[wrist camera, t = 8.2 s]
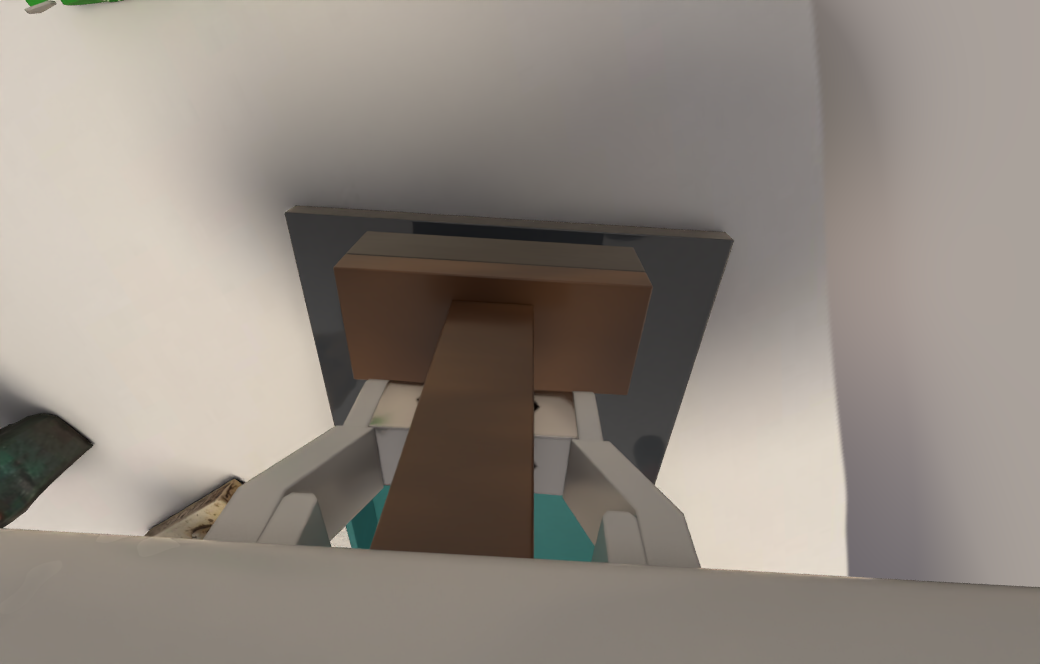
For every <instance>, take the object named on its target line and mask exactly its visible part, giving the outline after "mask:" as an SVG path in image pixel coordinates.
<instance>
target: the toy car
mask: <svg viewBox="0 0 1040 664" xmlns="http://www.w3.org/2000/svg"><path fill="white" fill-rule="evenodd" d="M117 1H123V0H61V2H62V3H63V4H64V5H83V4H93V3H100V2H117ZM26 2H27V3H28V4H29V5H30V7H29V8H26V9H25V11H26V12H27V13H29V14H35V13H42V12H44V11H45V10H47V9H49V8H51V7H52V6H54V5H56V2H55V1H51V0H26Z"/></svg>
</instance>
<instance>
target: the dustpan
mask: <svg viewBox="0 0 1040 664" xmlns="http://www.w3.org/2000/svg"><path fill="white" fill-rule="evenodd" d="M383 486H384V488H383V489H382V490H381V491H380V492H379V493H378V494H377V495H376V496H375V497H374V498H373V499H372V500H371V501H370V502H369V503H368V504H367V505H366V506H365V507H364V508H363V509H362V510H361V511H360V512H359V513H358V514H357V515H356V516H355V517H354V518H353V519H352V520H351V521H350V522H349V523H348V524H347V525H346V528H347V532H348V536H349V540H350V544H351V548H357V549H370V546H371V543H372V540H373V537H374V534H375V531H376V528H377V525H378V522H379V519H380V516H381V513H382V510H383V507H384V504H385V501H386V498H387V495H388V492H389V489H390V486H387V485H383ZM562 497H563V496H560V495H548V494H536V493H534V559H550V560H567V561H585V562H591V560H592V556H593V552H594V548H595V546H594V545H593V543H592V542H591V540H590V539H589V537H588V535H587V534H586V532H585V531H584V529H583V528H582V526H581V525H580V523H579V522H578V520H577V519H576V517H575V516H574V514H573V513H572V511H571V510H570V508H569V507H568V505H567V504H566V502H565V501H564V499H563V498H562Z"/></svg>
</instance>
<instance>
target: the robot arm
mask: <svg viewBox="0 0 1040 664" xmlns="http://www.w3.org/2000/svg"><path fill="white" fill-rule="evenodd" d="M423 386H424V383H421V382H408V381H396V380H390V381H389V380H380V379H369V380H367V381H366V382H365V383H364V385H363V387H362V389H361V391H360V393H359V395H358V397H357V399H356V401H355V403H354V405H353V407H352V409H351V410H350V412H349V414H348V416H347V418H346V420H345V422H344V424H343V426H338V425H336V426H335V427H333V428H331V429H330V430H328V431H327V432H325V433H324V434H322V435H320V436H319V437H317V438H316V439H314V440H312V441H311V442H309V443H308V444H306V445H305V446H303V447H301V448H300V449H298V450H297V451H295V452H293V453H292V454H290V455H289V456H287V457H286V458H284V459H282V460H281V461H279V462H278V463H276V464H274V465H273V466H271V467H270V468H268V469H267V470H265V471H263V472H262V473H260V474H259V475H257V476H255V477H254V478H252V479H251V480H249V481H248V482H246V483H244V484H243V485H241V486H240V487H238V489H237V490H236V492H235V493H234V495H233V496H232V497H231V499H230V500H229V502H228V503H227V505H226V506H225V508H224V509H223V511H222V512H221V514H220V515H219V516H218V518H217V519H216V521H215V522H214V524H213V525H212V527H211V528H210V530H209V531H208V532H207V534H206V535H205V537H204V538H203V540H199V539H182V538H164V537H147V536H129V535H111V534H94V533H76V532H58V531H41V530H23V529H6V528H0V664H1040V587H1024V586H1005V585H988V584H970V583H969V584H968V583H952V582H951V583H950V582H934V581H916V580H897V579H881V578H863V577H846V576H829V575H812V574H794V573H777V572H759V571H742V570H725V569H707V568H701V566H700V563H699V560H698V557H697V554H696V551H695V548H694V545H693V542H692V539H691V536H690V532H689V529H688V526H687V523H686V520H685V517H684V514H683V513H682V512H681V511H680V510H679V509H678V508H677V507H676V506H675V505H674V504H673V503H672V502H671V501H670V500H669V499H668V498H667V497H666V496H665V495H664V494H663V493H662V492H661V491H660V490H659V489H658V488H657V487H656V486H655V485H654V484H653V483H652V482H651V481H650V480H649V479H647V478H646V477H645V476H644V475H643V474H642V473H641V472H640V471H639V470H638V469H637V468H636V467H635V466H634V465H633V464H632V463H631V462H630V461H629V460H628V459H627V458H626V457H625V456H624V455H623V454H622V453H621V452H620V451H619V450H618V449H617V448H616V447H615V446H614V445H613V444H612V443H611V442H609V441H603V436H602V431H601V425H600V420H599V414H598V409H597V403H596V398H595V394H594V393H593V392H584V391H572V392H571V391H552V390H534V493H536V494H548V495H560V496H563V497H562V498H563V499H564V501H565V502H566V504H567V505H568V507H569V508H570V510H571V511H572V513H573V514H574V516H575V517H576V519H577V520H578V522H579V523H580V525H581V526H582V528H583V529H584V531H585V532H586V534H587V535H588V537H589V539H590V540H591V542H592V543H593V545H594V546H595V548H594V552H593V556H592V560H591V562H585V561H567V560H550V559H532V558H514V557H497V556H479V555H462V554H444V553H427V552H409V551H392V550H375V549H357V548H340V547H331V544H330V541H331V540H332V539H333V538H334V537H335V536H336V535H337V534H338V533H339V532H340V531H341V530H342V529H343V528H344V527H345V526H346V525H347V524H348V523H349V522H350V521H351V520H352V519H353V518H354V517H355V516H356V515H357V514H358V513H359V512H360V511H361V510H362V509H363V508H364V507H365V506H366V505H367V504H368V503H369V502H370V501H371V500H372V499H373V498H374V497H375V496H376V495H377V494H378V493H379V492H380V491H381V490H382V489H383V488H384V486H383V485H387V486H391V483H392V480H393V477H394V474H395V470H396V467H397V464H398V461H399V458H400V455H401V452H402V449H403V446H404V443H405V440H406V437H407V434H408V431H409V428H410V425H411V422H412V419H413V416H414V413H415V410H416V407H417V404H418V401H419V398H420V395H421V392H422V389H423Z"/></svg>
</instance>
